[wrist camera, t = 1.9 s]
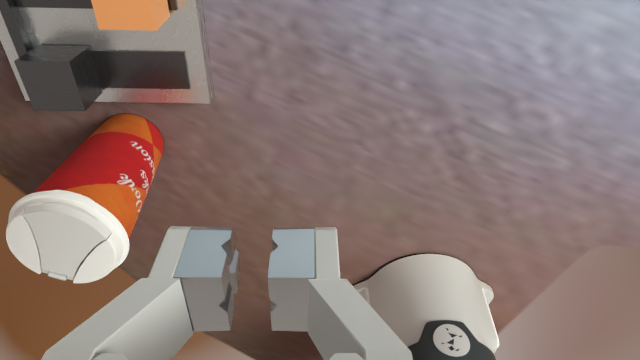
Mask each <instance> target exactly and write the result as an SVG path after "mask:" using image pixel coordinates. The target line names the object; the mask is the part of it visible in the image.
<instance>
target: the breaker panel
mask: <svg viewBox="0 0 640 360" xmlns="http://www.w3.org/2000/svg"><path fill="white" fill-rule="evenodd" d="M167 2H168V7H169V13H170V17H169V18H168V19H167V21H166V22H165V23H164V24H163V25H162V26H161V27H160V28H159V29H158V30H157V31H146V30H99V28H98V24H97V20H96V17H95V13H94V9H93V6H92V2H91V0H0V41H1V43H2V45H3V48H4V50H5V53H6V55H7V57H8V60H9V62H10V65H11V67H12V69H13V72H14V74H15V77H16V79H17V81H18V84H19V86H20V89H21V91H22V93H23V96H24V98H25V101H30V102H31V104H32V107H33V109H34V110H53V111H86V110H87V109H88V108H89V106H90V105H91V104H92V103H93V102H148V103H210V102H211V100H212V98H213V96H214V88H213V80H212V73H211V65H210V58H209V50H208V42H207V35H206V27H205V20H204V12H203V4H202V0H167Z"/></svg>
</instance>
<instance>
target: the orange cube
mask: <svg viewBox="0 0 640 360" xmlns="http://www.w3.org/2000/svg"><path fill="white" fill-rule="evenodd" d="M91 2H92V6H93V9H94V13H95V17H96V20H97V24H98V28H99V30H146V31H157V30H158V29H159V28H160V27H161V26H162V25H163V24H164V23H165V22H166V21H167V19H168V18H169V17H170V13H169V7H168V2H167V0H91Z"/></svg>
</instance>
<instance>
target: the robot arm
mask: <svg viewBox="0 0 640 360" xmlns="http://www.w3.org/2000/svg"><path fill="white" fill-rule="evenodd" d="M236 242H237V236H236V230H235V228H234V227H200V226H193V227H184V226H171V227H170V228H169V229H168V230H167V232H166V234H165V237H164V239H163V242H162V244H161V247H160V249H159V251H158V254H157V256H156V259H155V261H154V264H153V266H152V269H151V271H150V274H149V276H148V278H141V279H140V280H138V281H137V282H136V283H134V284H133V285H132V286H130V287H129V288H128V289H127V290H125V291H124V292H123V293H122V294H120V295H119V296H117V297H116V298H115V299H113V300H112V301H111V302H110V303H108V304H107V305H106V306H104V307H103V308H102V309H100V310H99V311H98V312H97V313H95V314H94V315H93V316H91V317H90V318H89V319H88V320H86V321H85V322H84V323H82V324H81V325H80V326H78V327H77V328H76V329H74V330H73V331H72V332H70V333H69V334H68V335H67V336H65V337H64V338H63V339H61V340H60V341H59V342H57V343H56V344H55V345H54V346H52V347H51V348H50V349H48V350H47V351H46V352H45V354H44V356H43V358H42V360H171V359H172V358H173V357H174V356H175V355H176V353H177V352H178V351H179V350H180V349H181V347H182V346H183V345H184V344H185V343H186V342H187V341H188V339H189V338H190V337H191V336H192V334H193V331H229V330H230V329H231V323H232V318H233V313H234V307H235V305H234V298H233V295H234V294H235V293H236V292H237V290H238V284H239V274H240V260H239V253H238V252H237V251H236V250H235V247H236ZM272 248H273V252H272V253H271V254H270V263H269V272H268V286H269V299H270V300H271V311H270V314H271V325H272V331H307V332H308V334H309V336H310V338H311V339H312V341H313V343H314V344H315V346H316V347H317V349H318V351H319V352H320V354H321V356H322V357H323V359H324V360H496V359H495V356H494V353H495V351H496V349H497V347H499V339H498V335H497V332H496V329H495V326H494V322H493V319H492V316H491V313H490V309H489V306H488V305H489V303H490V302H491V301H492V299H493V297H494V294H493V291H492V288H491V287H490V286H488V285H487V284H485V283H483V282H481V281H479V280H478V279H477V278H476V276H475V274H474V273H473V271H472V270H471V269H470V268H469V267H468V266H467V265H466V264H465V263H463V262H462V261H460V260H458V259H455V258H453V257H450V256H445V255H439V254H420V255H413V256H408V257H405V258H402V259H399V260H396V261H394V262H392V263H390V264H388V265H386V266H385V267H383V268H382V269H380V270H379V271H378V272H377V273H376V274H374V275H373V276H372V277H371V278H369V279H368V280H366V281H363V282H361V283H358V284H356V285H354V286H352V285H351V284H350V282H349V281H348V280H347V279H340V268H339V253H338V239H337V229H336V228H335V227H315V228H274V229H273V235H272Z"/></svg>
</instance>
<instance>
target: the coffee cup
mask: <svg viewBox="0 0 640 360" xmlns="http://www.w3.org/2000/svg"><path fill="white" fill-rule="evenodd" d="M163 150H164V141H163V137H162V135H161V133H160V131H159V130H158V129H157V127H156V126H155V125H154V124H153V123H151V122H150V121H149V120H147V119H145V118H143V117H141V116H138V115H135V114H129V113H122V114H117V115H114V116H112V117H111V118H109V119H108V120H106V121H105V122H104V123H103V124H102V125H101V126H100V127H99V128H98V129H97V130H96V131H95V132H94V133H92V134H91V135H90V136H89V137H88V138H87V139H86V140H85V141H84V142H83V143H82V144H81V145H80V146H79V147H78V148H77V149H76V150H75V151H74V152H73V153H72V154H71V155H70V156H69V157H68V158H67V159H66V160H65V161H64V162H63V163H62V164H61V165H60V166H59V167H58V168H57V169H56V170H55V171H54V172H53V173H52V174H51V175H50V176H49V177H48V178H47V179H46V180H45V181H44V182H43V183H42V184H41V185H40V186H39V187H38V188H37V189H36V190H35V191H34V192H33V193H32V194H29V195H26V196H24V197H22V198H21V199H20V200H18V201H17V202H16V203H15V204H14V205H13V206H12V209H11V210H10V213H9V218H8V225H7V229H6V240H7V243H8V246H9V248H10V250H11V252H12V253H13V254H14V256H15V257H16V258H17V259H18V260H19V261H20V262H21V263H23V264H24V265H25V266H26V267H28V268H29V269H31V270H32V271H34V272H36V273H38V274H40V273H41V272H43V273H47V274H48V276H49V277H53V278H57V279H60V280H64V281H65V280H66V279H70V280H73V279H74V282H73V283H87V282H92V281H95V280H98V279H101V278H102V277H104V276H106V275H107V274H109V273H110V272H111V271H112V270H113V269H114V268H116V267H118V266H119V265H120V264H121V263H122V262H123V261H124V260H125V259H126V257H127V254H128V252H129V237H130V235H131V232H132V230H133V227H134V225H135V223H136V220H137V218H138V215H139V213H140V210H141V208H142V205H143V203H144V200H145V198H146V195H147V193H148V190H149V188H150V185H151V183H152V180H153V178H154V175H155V173H156V170H157V168H158V165H159V162H160V159H161V157H162V154H163Z"/></svg>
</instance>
